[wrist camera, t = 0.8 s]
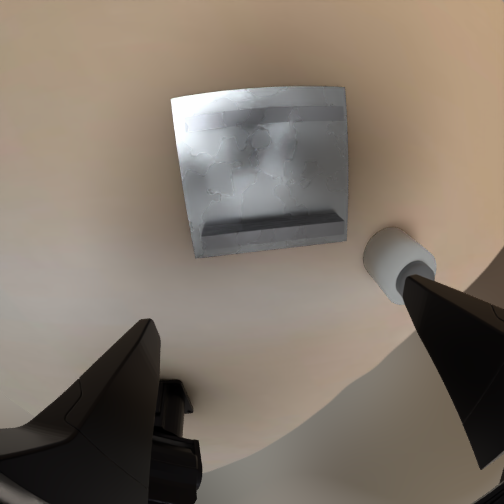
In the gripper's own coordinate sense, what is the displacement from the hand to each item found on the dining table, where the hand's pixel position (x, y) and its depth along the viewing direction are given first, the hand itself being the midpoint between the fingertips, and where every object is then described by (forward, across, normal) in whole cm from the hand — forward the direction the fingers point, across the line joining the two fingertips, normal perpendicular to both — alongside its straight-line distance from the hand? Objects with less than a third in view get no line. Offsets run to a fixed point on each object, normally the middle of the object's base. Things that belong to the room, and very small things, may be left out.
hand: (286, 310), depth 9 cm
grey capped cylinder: (+13, -11, +6) cm, 19 cm away
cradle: (+13, -1, -2) cm, 13 cm away
